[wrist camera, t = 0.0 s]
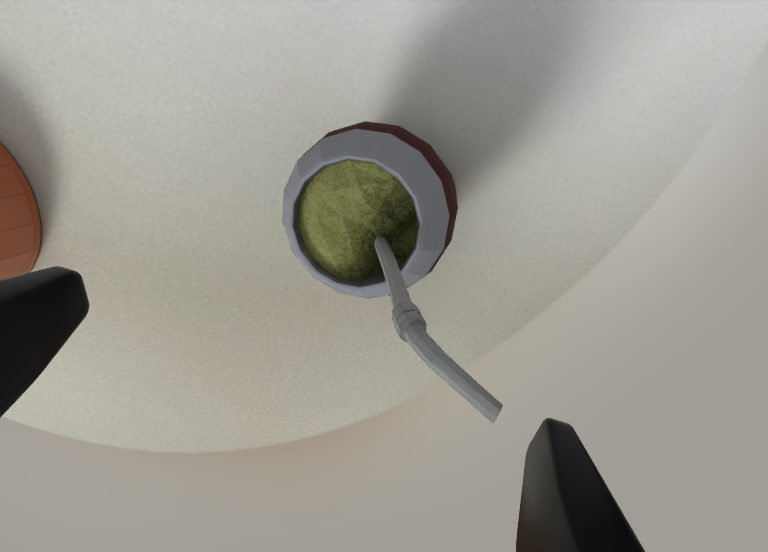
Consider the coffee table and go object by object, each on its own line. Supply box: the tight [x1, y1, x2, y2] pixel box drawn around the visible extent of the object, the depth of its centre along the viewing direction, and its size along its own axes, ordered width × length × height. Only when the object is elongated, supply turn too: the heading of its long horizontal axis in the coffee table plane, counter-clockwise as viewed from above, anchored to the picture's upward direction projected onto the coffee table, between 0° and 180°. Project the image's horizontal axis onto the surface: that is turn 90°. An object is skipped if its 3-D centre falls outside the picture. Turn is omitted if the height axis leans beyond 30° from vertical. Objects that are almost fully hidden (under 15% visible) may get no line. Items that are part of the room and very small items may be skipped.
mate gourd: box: [283, 121, 503, 423], centre depth 17 cm, size 8×8×15 cm
